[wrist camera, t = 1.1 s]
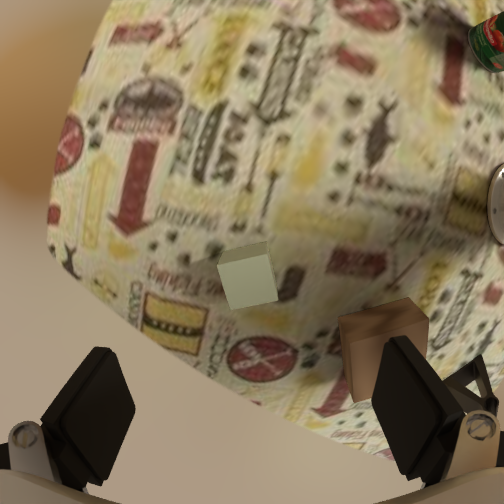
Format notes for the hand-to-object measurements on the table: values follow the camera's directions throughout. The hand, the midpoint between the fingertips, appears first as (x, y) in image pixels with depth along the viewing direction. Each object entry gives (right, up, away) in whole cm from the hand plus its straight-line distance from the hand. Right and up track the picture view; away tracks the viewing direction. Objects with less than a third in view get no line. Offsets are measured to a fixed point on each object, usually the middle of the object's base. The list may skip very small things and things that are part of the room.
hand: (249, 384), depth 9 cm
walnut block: (+17, -7, +27) cm, 32 cm away
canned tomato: (+35, +35, +14) cm, 51 cm away
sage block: (0, +3, +24) cm, 25 cm away
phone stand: (+38, -18, +29) cm, 51 cm away
